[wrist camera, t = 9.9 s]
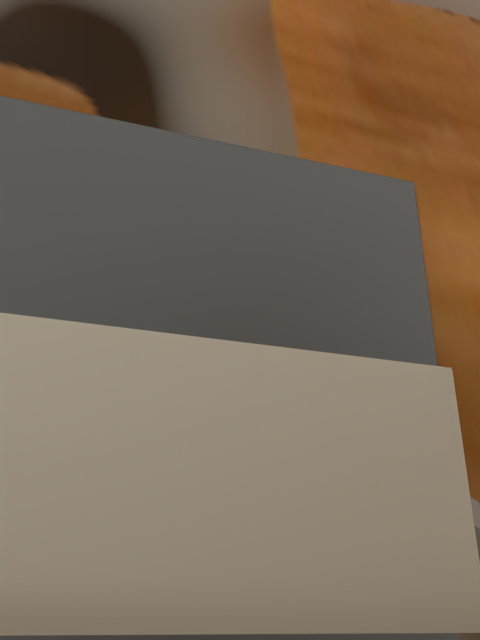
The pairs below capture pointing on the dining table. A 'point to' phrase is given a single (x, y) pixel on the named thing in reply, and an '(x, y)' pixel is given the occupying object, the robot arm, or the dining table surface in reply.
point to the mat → (207, 250)
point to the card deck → (226, 488)
